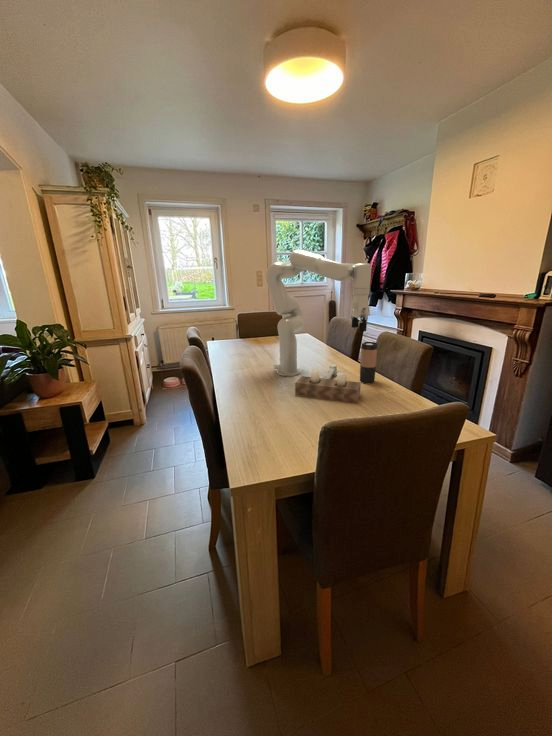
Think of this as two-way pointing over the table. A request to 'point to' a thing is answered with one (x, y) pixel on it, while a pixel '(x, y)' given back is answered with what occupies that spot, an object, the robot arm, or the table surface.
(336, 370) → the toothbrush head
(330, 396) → the walnut block
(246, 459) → the table surface
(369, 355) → the travel mug
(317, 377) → the peg
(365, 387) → the table surface
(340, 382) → the peg
